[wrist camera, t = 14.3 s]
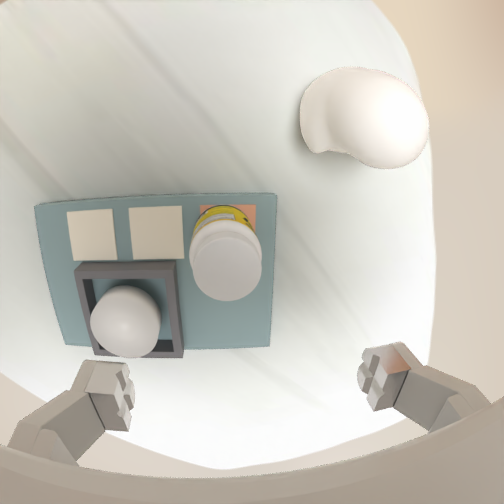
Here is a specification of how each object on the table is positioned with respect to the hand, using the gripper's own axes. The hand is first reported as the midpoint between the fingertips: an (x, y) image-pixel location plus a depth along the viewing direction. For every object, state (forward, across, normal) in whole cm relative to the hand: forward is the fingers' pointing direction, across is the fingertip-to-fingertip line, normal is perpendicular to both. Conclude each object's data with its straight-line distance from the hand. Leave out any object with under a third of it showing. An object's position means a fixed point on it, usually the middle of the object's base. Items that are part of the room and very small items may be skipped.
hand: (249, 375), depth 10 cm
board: (+18, +7, +4) cm, 20 cm away
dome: (+17, +9, +7) cm, 21 cm away
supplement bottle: (+17, 0, 0) cm, 17 cm away
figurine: (+18, -9, -10) cm, 23 cm away
